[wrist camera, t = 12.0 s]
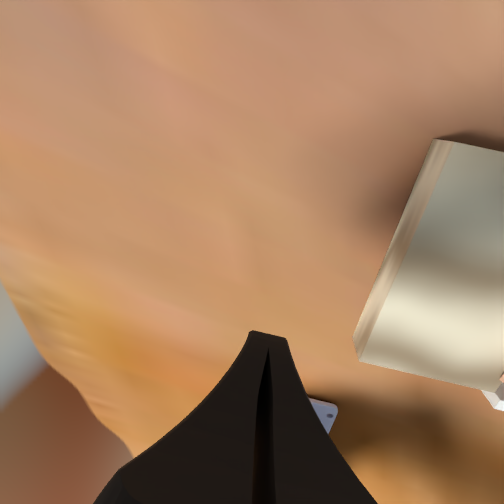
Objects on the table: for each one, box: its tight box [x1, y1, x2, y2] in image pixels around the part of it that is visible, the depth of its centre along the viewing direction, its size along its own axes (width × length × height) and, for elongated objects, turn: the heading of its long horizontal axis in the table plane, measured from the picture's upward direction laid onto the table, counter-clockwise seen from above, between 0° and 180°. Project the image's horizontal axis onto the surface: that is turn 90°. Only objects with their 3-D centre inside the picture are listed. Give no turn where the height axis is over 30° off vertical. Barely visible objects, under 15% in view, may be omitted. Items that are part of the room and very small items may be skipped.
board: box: [352, 139, 504, 393], centre depth 19 cm, size 14×9×2 cm, turn 169°
